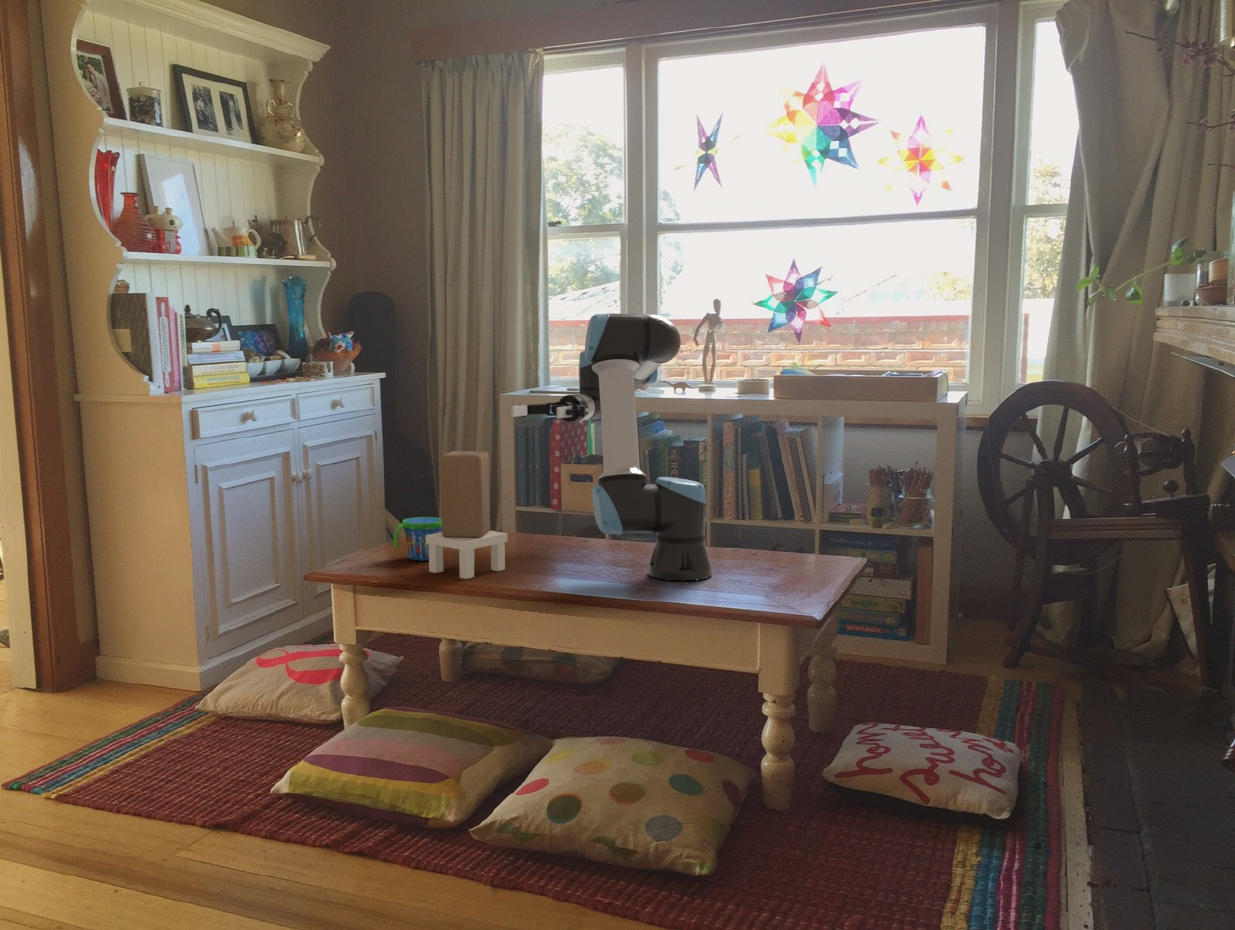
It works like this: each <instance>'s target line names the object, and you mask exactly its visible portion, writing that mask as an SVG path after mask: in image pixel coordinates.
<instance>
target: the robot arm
mask: <svg viewBox="0 0 1235 930" xmlns="http://www.w3.org/2000/svg"><path fill="white" fill-rule="evenodd" d="M681 343H682V339H681V335H680V332H679V331H678V329H677V328H676V326H675V325H674V324H673V322H671V321H670V320H668V319H667V318H665V317H664V316H661V315H658V314H654V313H610V312H608V313H600V314H599V313H596V314H594V315H592V316H591V317H590V319H589V321H588V325H587V329H586V335H585V343H584V350H583V351H580V352H579V360H578V361H579V362H578V363H579V364H578V373H579V374H578V377H579V378H578V384H579V387H578V393H573V394H566V395H564V396H562V397H561V398H560V399H559V401H555V402H546V403H538V404H532V403H531V404H521V403H520V404H518V405H512V406H511V407H510V408H511V410H510V411H511V417H513V418H514V417H516V418H517V417H521V418H526V416H528V415H546V416H548V417H551V416H552V417H553V416H555V417H556V419H562V420H563V421H564V422H566V423H575V422H576V423H577V422H578V423H579V424H582V423H583V421H592V420H599V419H601V423H600V424H601V439H602V440H601V441H602V442H601V443H602V456H603V458H602V460H603V472H602V473H601V474H600V475H599V476H598V478H597V483H598V484H596V485H594V486H593V487H592V489H591V496H592V499H591V501H592V509H593V513H594V518H595V522H596V524H597V527H598V529H599V530H600V531H601V533H604V534H607V535H617V536H618V535H619V536H620V535H623V534H625V535H626V534H654V533H655V534H656V536H655V537H656V538H655V539H656V541H655V546H654V548H653V552H652V555H651V557H650V558H651V559H650V561H649V564H648V575H649V576H650V577H652V578H654V577H656V578H655V579H657V578H660V579H659V580H661V579H666V580H665V581H668V580H696V579H702V578H705V577H709V578H710V576H711V577H712V575H713V572H712V571H713V569H712V568H713V566H712V563H711V560H710V556H709V553H708V550H707V546H706V542H705V541H706V537H705V536H706V504H707V501H706V490H705V486H704V485H703V484H702V483H701V482H698V481H695V480H690V479H686V478H685V479H684V478H680V477H679V478H678V477H671V476H668V477H667V476H659V477H657V478H656V479H655V483H648V478H647V474H646V473H644V472H643V471H642V470H641V468H640V451H639V436H638V435H639V434H638V420H637V419H638V418H637V403H636V401H637V400H636V388H635V384H636V385H639V384H640V385H646V384H654V383H656V381H657V379H658V375H659V371H658V368H659V367H660V366H662V364H665V363H668V362H670V361H671V360H673V359H674V358H675V357H676V356H677V354H679V351H680V349H681V345H682V344H681ZM667 579H668V580H667ZM702 580H703V579H702ZM696 581H697V580H696Z"/></svg>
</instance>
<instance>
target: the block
mask: <svg viewBox="0 0 1235 930" xmlns="http://www.w3.org/2000/svg"><path fill="white" fill-rule="evenodd" d="M439 465H440V466H439V467H440V468H439V469H440V471H439V473H440V516H441V525H442V535H443V536H445V537H466V538H479V537H481V536H483V535H484V534H485V533H487V532H488V531H490V530H491V500H490V495H491V494H490V490H491V489H490V455H489V452H487V451H485V450H484V451H483V450H481V451H480V450H479V451H477V450H476V451H475V450H474V451H473V450H471V451H469V450H453V451H450V452H448V453H445V454H442V455H441V456H440V458H439Z"/></svg>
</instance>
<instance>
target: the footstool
mask: <svg viewBox="0 0 1235 930" xmlns="http://www.w3.org/2000/svg"><path fill="white" fill-rule="evenodd" d="M508 539H509V538H508V533H507V532H502V531H501V532H500V531H494V530H489V531H488V532H487V533H485V534H484V535H483V536H481V537H479V538H466V537H445V536H443V535H442V532H440V533H435V534H430V535H426V544H429V560H428V572H431V573H434V574H435V573H436V574H437V573H441V572H444V548H451V549H454V550H458V555H459V557H458V558H459V560H458V561H459V578H460V579H464V580H469V579H473V578H475V562H476V561H475V549H481V548H484V547H489V546H490V568H491V569H490V570H491V571H494V572H495V571H496V572H501V571H504V570H506V545H505V543H507V542H508ZM472 577H473V578H472ZM468 578H469V579H468Z"/></svg>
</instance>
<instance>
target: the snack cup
mask: <svg viewBox="0 0 1235 930" xmlns="http://www.w3.org/2000/svg"><path fill="white" fill-rule="evenodd" d="M402 529H403V531H404V534H405V541H406V545H407V546H406V547H407V553H408V558H409V559H410V560H412V561H416V560H418V561H421V562H422V561H423V562H424V561H429V544H426V535H430V534H435V533H440V532H442V525H441V518H440V517H434V516H432V517H431V516H419V517H418V516H416V517H410V518H404V519H403V520H402V522H401V523H400V524H398V526H397V527H396V528H395V530H394V532H393V539H392V540H393V545H394V548H395V549H397V550H399V549H400V548H399V547H400V546H399V532H400V531H401V530H402Z"/></svg>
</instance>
